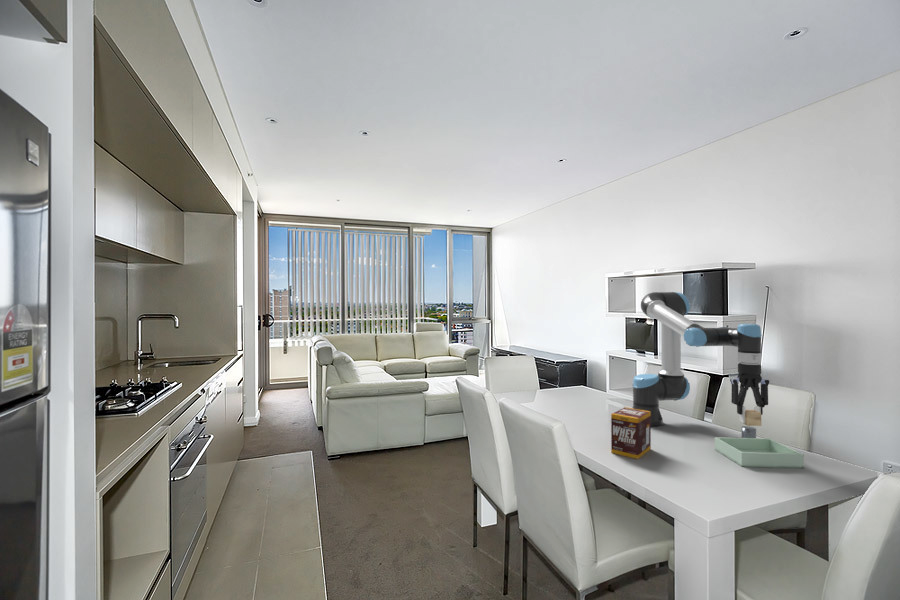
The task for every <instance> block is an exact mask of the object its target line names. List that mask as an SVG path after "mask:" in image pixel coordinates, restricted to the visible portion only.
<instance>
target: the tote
mask: <svg viewBox="0 0 900 600" xmlns="http://www.w3.org/2000/svg"><path fill="white" fill-rule="evenodd" d="M714 451H716V452H718V453H720V454H721V455H723V456H724V457H726V458H728V459H729V460H730V461H732V462H734V464H735V463H736V464H737V465H738V466H739V467H743V468H745V467H746V468H751V467H752V468H781V469H783V468H784V469H785V468H787V469H804V467H805V466H804V465H805V463H804V462H805V461H804V460H805V459H804V458H805V457H804V456H805V454H804V453H802V452H800V451H797V450H795V449H793V448H791V447H790V446H787V445H785V444H783V443H781V442H778V441H776V440H774V439H772V438H768V437H767V438H764V437H762V438H761V437H759V438H758V437H756V438H742V437H721V436H719V437H717V436H716V437H714Z"/></svg>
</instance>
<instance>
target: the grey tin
mask: <svg viewBox="0 0 900 600" xmlns="http://www.w3.org/2000/svg"><path fill="white" fill-rule="evenodd" d="M741 438H757V428H756V427H754V426H747V425H745V426H744V425H743V426H741Z"/></svg>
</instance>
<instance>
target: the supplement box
mask: <svg viewBox="0 0 900 600" xmlns="http://www.w3.org/2000/svg"><path fill="white" fill-rule="evenodd" d="M610 416H611V418H610V423H611V424H610V425H611V427H610V428H611V429H610V432H611V434H610V435H611V438H610V439H611V441H610V442H611V443H610V444H611V448H610V449H611V453H612V454H614V455H615V454H616V455H619V456H623V457H626V458H631V459H636V460H639V459H640V458H641V457H643V456H644V455H646V454H647V453H648V452H649V451H651V449H652V446H651V445H652V444H651V443H652V441H651V440H652V439H651V438H652V437H651V436H652V435H651V429H652V426H651V412H650V411H645V410H639V409H634V408H632V407H622V408H621V409H619V410H617V411H615V412H613V413H611V415H610Z"/></svg>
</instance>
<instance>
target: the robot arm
mask: <svg viewBox="0 0 900 600" xmlns="http://www.w3.org/2000/svg"><path fill="white" fill-rule="evenodd" d="M690 308H691V306H690V301H689V299H688V297H687V295H685V294H684V293H683V292H682V293H681V292H674V291H671V292H670V291H669V292H668V291H667V292H666V291H665V292H664V291H663V292H662V291H660V292H657V291H656V292H654V291H653V292H649V293H648V294H646V295H645V296H644V297H643V298H642V299H641V301H640V309H641V311H642V313H643V314H644V315H646V316H647V317H648V318H650V319H653V320H654V319H656V320H657V321H658V322H660V323H661V325H660V326H661V331H660V332H661V334H660V335H661V337H660V338H661V339H660V340H661V342H660V343H661V348H660V349H661V358H660V359H661V369H660V370H658V373H657V374H655V373H642V374H641V373H640V374H637V375H635V376H634V377H633V381H632V407H631V408H634V409H639V410H645V411H650V412H651V427H659V426H662V425H664V419H663V415H662V413H661V411H660V406H659V405H660V404H659V403H660V401H661V402H663V401H674V402H675V401H681V400H684V399H686V398H687V397H688V395H689V394H690V390H691V385H690V382H689V380H688V379H687V377H685V373H684V372H683V371H682V370H681V367H682V366H681V364H682V363H681V362H682V361H681V359H682V357H681V356H682V350H681V349H682V347H681V346H682V345H681V342H682V340H681V336H682V337H683V340H684V342H685V344H687V345H688V346H689V347H696V348H697V347H698V348H699V347H735V348H737V363H738V364H737V373H738V375H737V377H736V378H730V379H729V381H730V384H731V401H730V402H731V404H733V405H736V413H737V414H738V416H739V417H738V422H739V423H740V422H741V423H740V424H743V425H745V410H746V406H744V403H745V399H746V396H747V392H748V390H749V388H751V391H752V395H753V397H754V398H753V399H754V401H755V405H753V410H755V411H758V412H760V413H761V416H763V413H764V410H763V409H764V408H765V406H768V405H769V384H770V380H769V379H765V378H763V377H762V365H761V363H762V329H761V328H762V327H761V325H759V324H756V323H755V324H754V323H738V325H737V327H736V328H735V327H726V326H722V327H721V326H720V327H703V326H702V325H700V324H698V323H696V322H695V321H692V320H691V319H689V317H688V318H687V316H686V315H687V314H688V313H689V312H690ZM739 383H740V384H739ZM759 384H760V385H759Z"/></svg>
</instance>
